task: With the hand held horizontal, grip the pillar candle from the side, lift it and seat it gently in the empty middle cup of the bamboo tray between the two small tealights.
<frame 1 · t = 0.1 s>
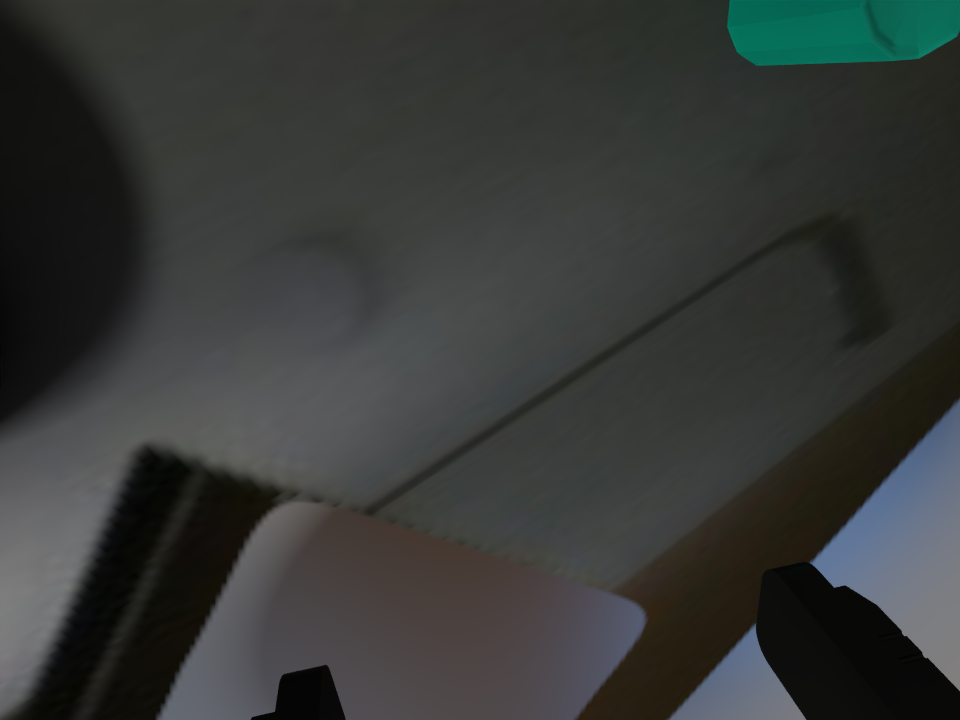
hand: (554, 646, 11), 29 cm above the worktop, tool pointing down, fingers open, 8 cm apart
candle: (773, 9, 35), on the worktop
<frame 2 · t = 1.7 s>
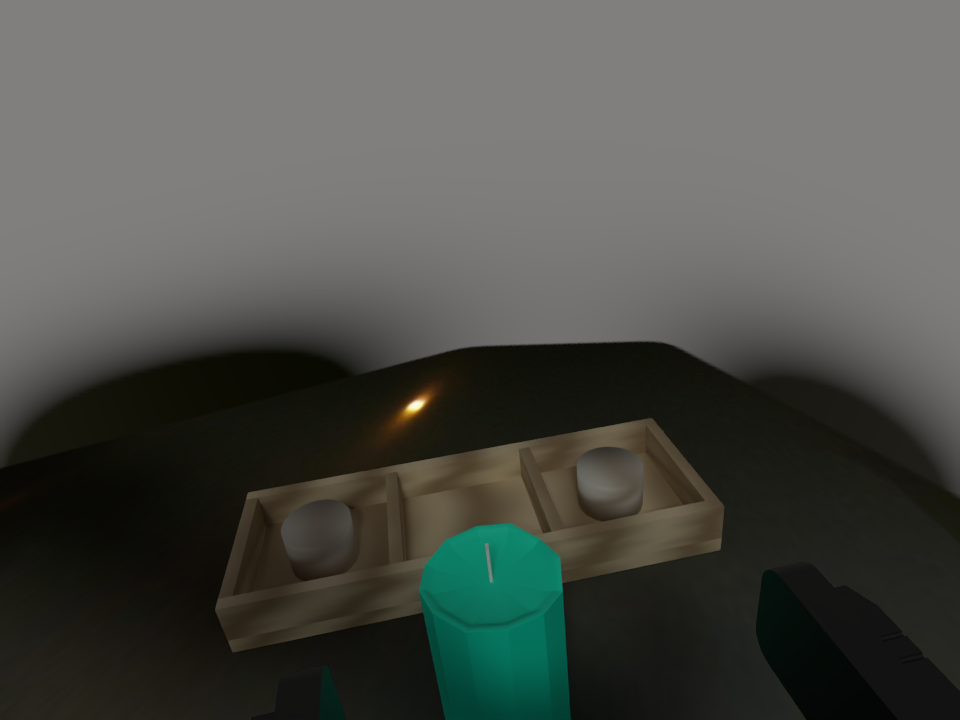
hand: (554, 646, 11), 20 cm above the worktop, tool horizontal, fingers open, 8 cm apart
tray: (473, 539, 42), on the worktop
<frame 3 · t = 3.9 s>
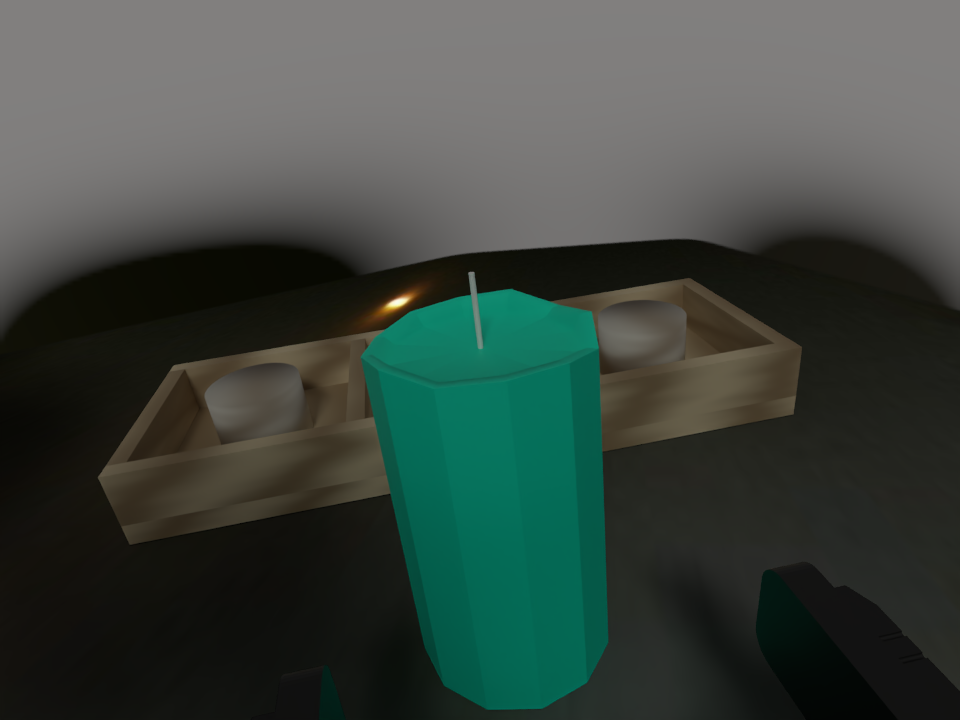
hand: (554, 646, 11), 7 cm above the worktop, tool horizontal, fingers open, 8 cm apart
tray: (463, 417, 32), on the worktop
candle: (515, 628, 20), on the worktop
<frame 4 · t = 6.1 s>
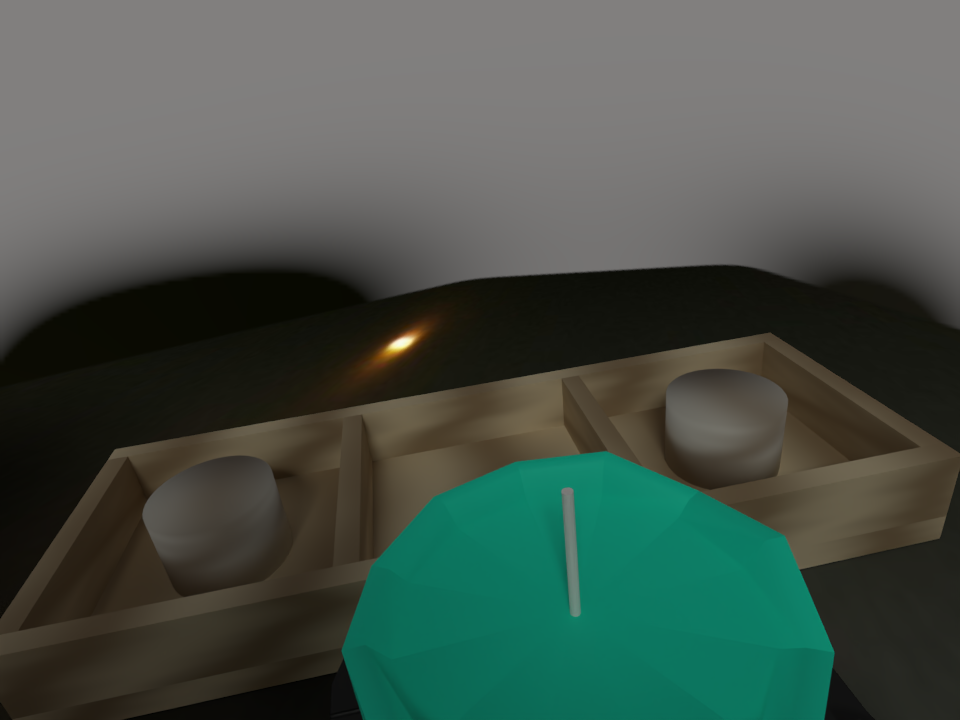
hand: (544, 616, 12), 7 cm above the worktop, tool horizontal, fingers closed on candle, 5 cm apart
tray: (489, 524, 24), on the worktop
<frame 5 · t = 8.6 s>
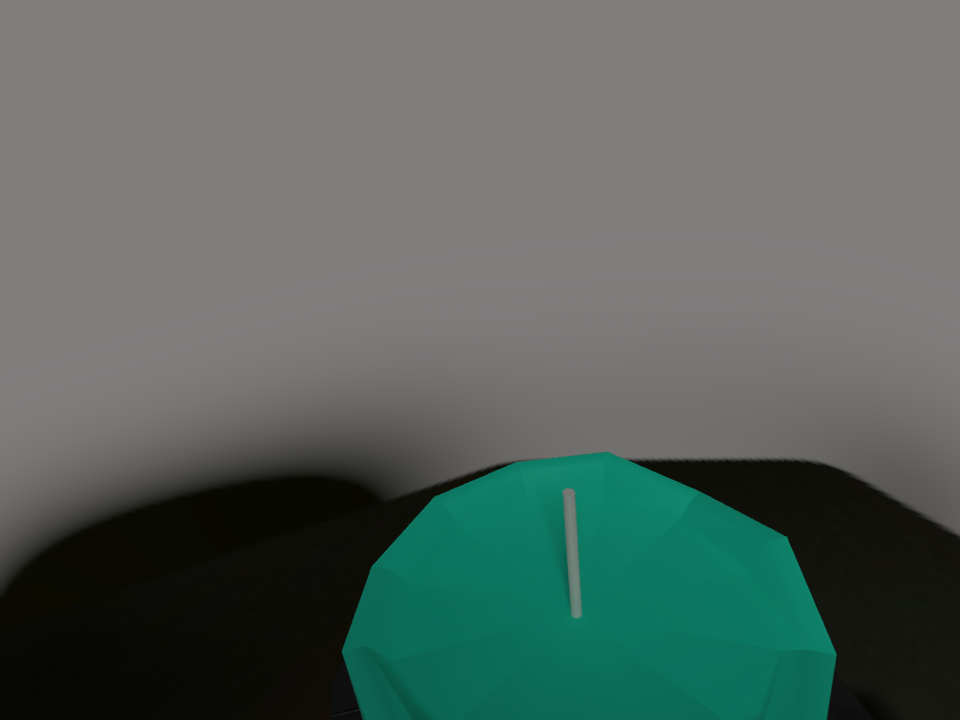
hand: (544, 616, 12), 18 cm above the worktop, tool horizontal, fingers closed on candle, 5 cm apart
when the fingers open (9 cm above the worktop, at t = 11.2 s): candle drops 1 cm, resting on tray.
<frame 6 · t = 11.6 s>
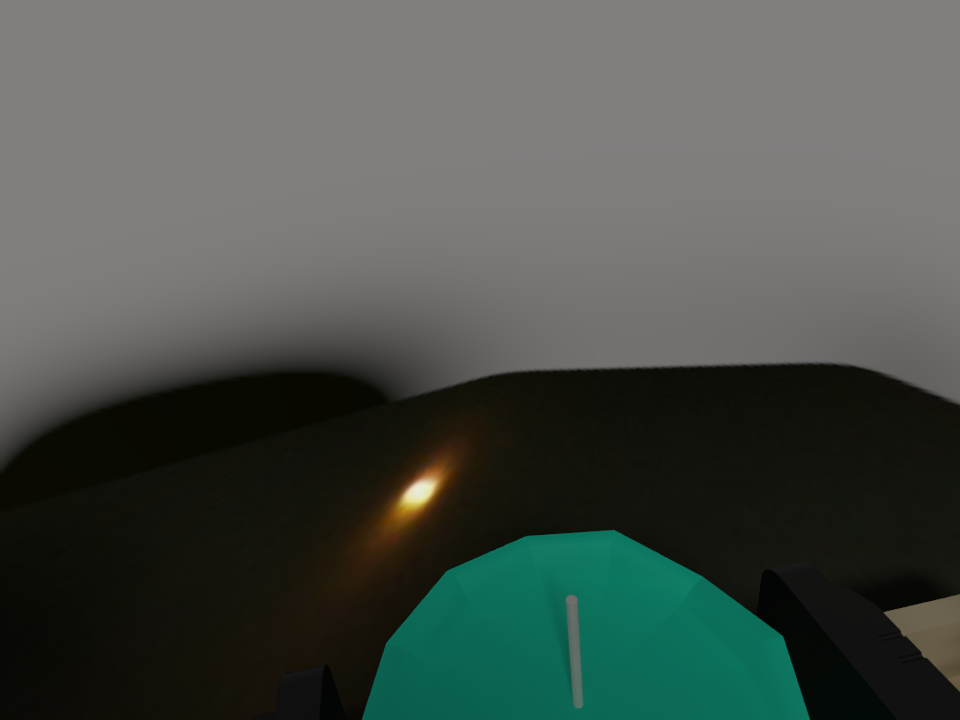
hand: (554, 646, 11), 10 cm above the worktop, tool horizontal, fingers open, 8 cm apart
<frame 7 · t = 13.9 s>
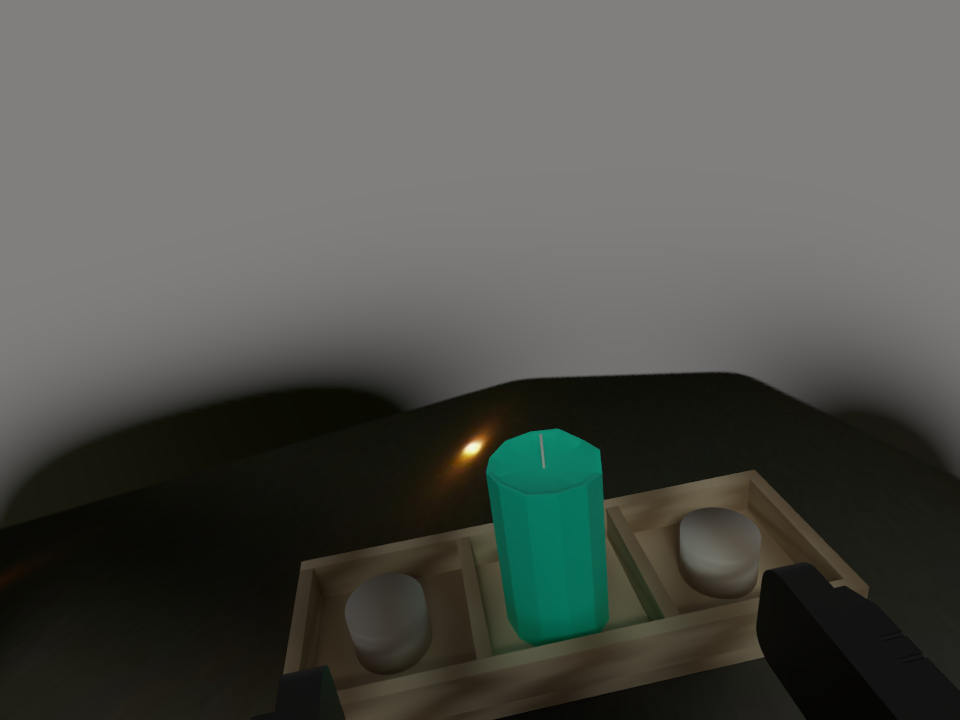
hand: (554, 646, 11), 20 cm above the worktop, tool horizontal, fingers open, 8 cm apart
tray: (560, 617, 36), on the worktop
candle: (558, 610, 36), point 1 cm above the worktop, touching tray
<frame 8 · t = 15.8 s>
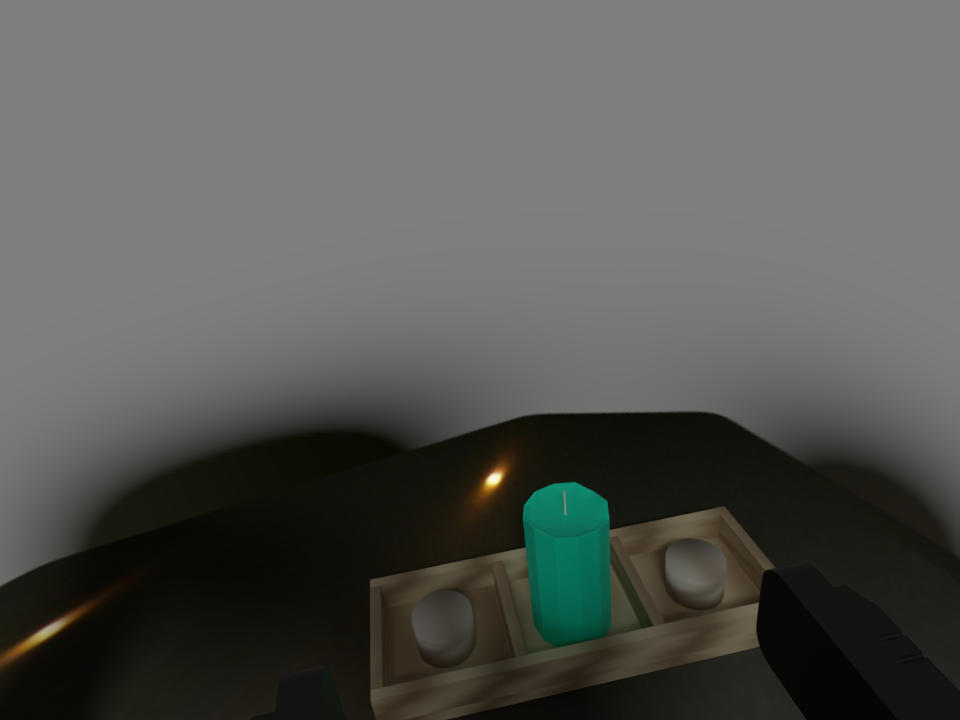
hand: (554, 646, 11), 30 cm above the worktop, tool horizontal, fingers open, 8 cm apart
tray: (573, 623, 47), on the worktop
candle: (572, 618, 47), point 1 cm above the worktop, touching tray
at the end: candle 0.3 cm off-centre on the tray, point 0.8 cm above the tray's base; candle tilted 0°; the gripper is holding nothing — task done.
